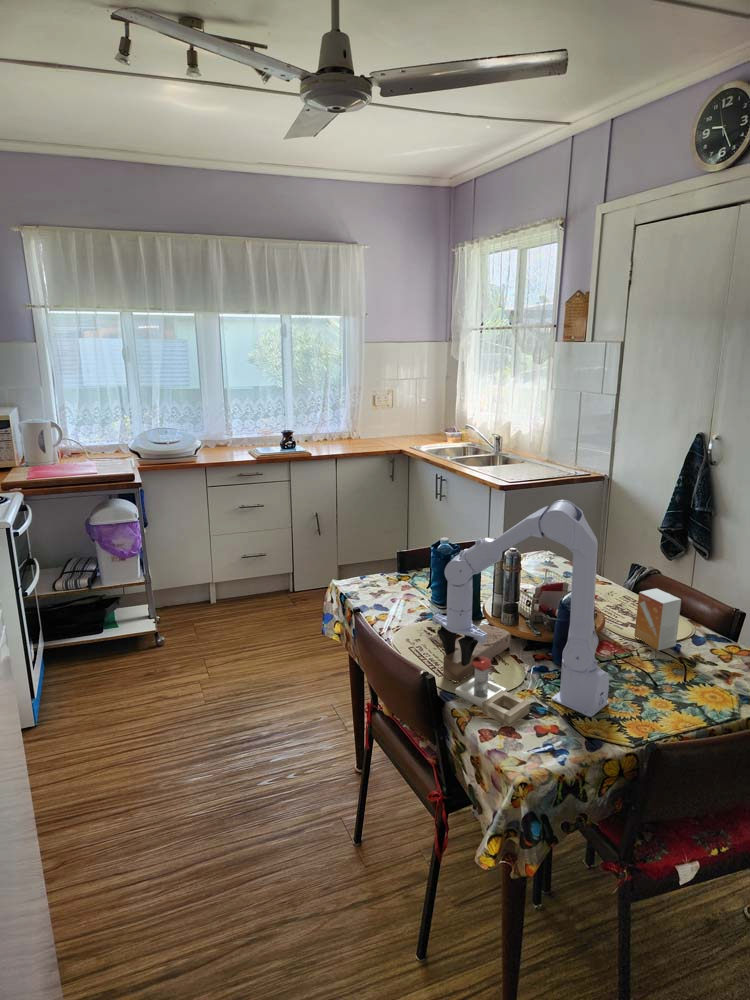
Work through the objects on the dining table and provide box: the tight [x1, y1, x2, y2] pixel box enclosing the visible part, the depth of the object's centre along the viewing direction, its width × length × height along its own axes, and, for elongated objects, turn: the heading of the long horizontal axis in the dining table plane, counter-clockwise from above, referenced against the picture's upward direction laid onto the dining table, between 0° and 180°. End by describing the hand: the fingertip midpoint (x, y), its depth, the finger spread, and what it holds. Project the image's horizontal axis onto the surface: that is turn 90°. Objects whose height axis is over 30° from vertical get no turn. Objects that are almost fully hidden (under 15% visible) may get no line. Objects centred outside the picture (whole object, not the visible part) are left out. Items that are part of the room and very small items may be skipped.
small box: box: [634, 588, 682, 652], centre depth 164 cm, size 8×6×13 cm
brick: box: [455, 623, 512, 671], centre depth 160 cm, size 17×8×5 cm, turn 135°
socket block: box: [481, 690, 531, 728], centre depth 135 cm, size 7×7×2 cm
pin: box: [472, 657, 492, 698], centre depth 141 cm, size 4×4×8 cm
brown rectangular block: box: [442, 649, 474, 683], centre depth 150 cm, size 4×6×5 cm, turn 134°
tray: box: [454, 677, 508, 709], centre depth 142 cm, size 8×8×2 cm
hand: (458, 660), depth 150 cm, fingers open, 4 cm apart
